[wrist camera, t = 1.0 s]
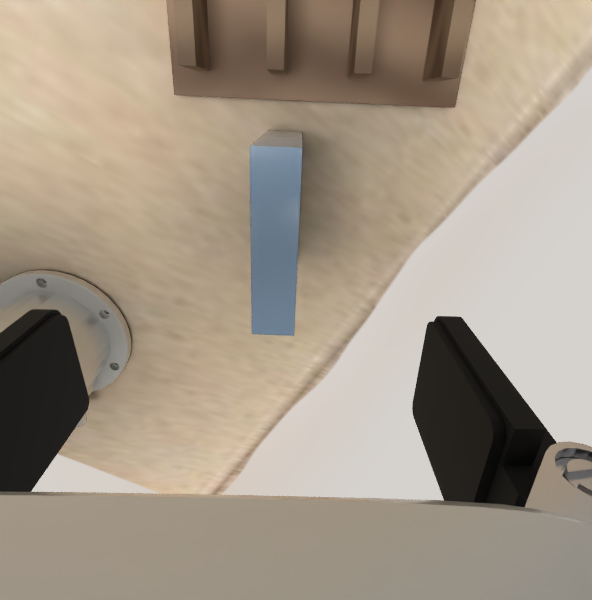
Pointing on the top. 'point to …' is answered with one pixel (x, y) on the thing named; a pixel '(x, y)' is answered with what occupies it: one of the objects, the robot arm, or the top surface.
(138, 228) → the top surface
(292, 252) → the tile
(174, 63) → the rack
